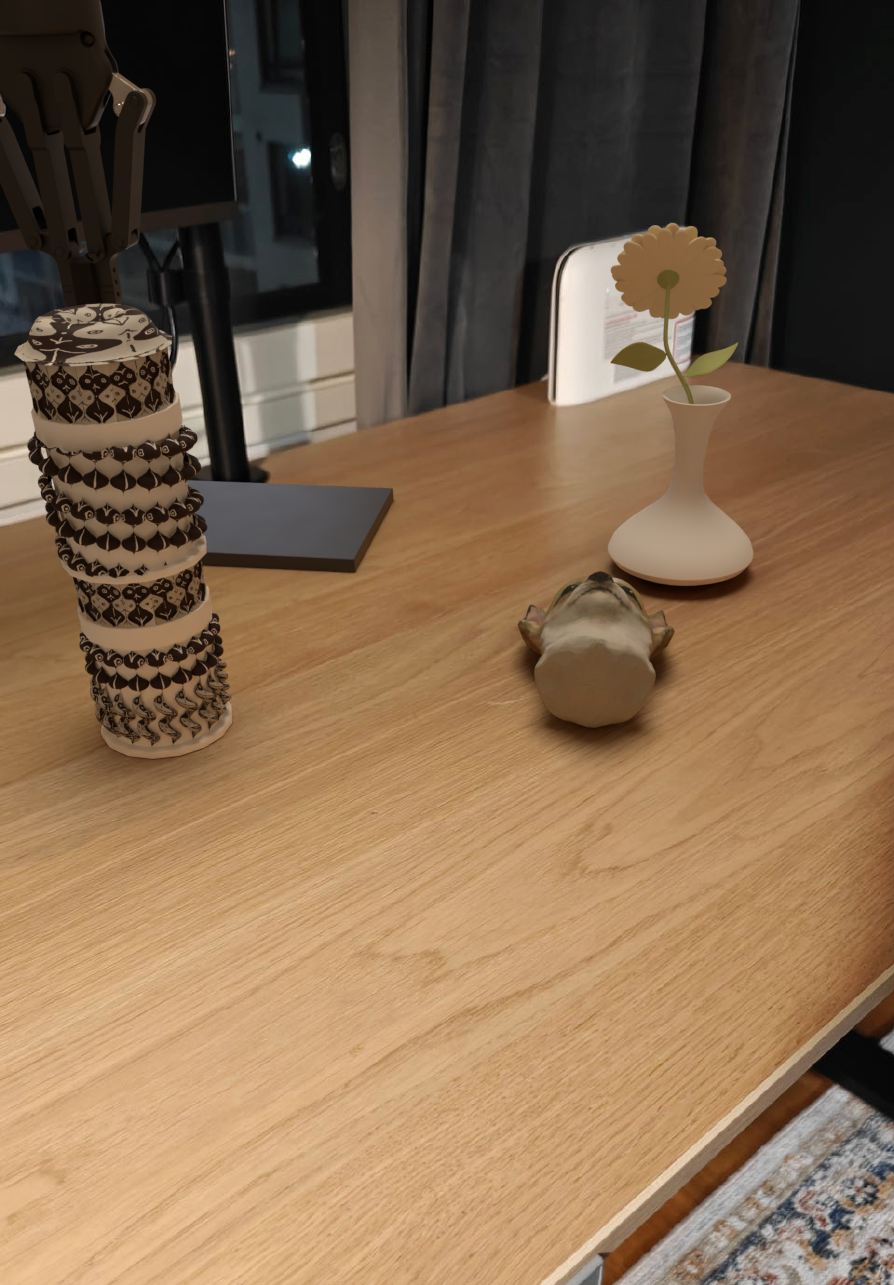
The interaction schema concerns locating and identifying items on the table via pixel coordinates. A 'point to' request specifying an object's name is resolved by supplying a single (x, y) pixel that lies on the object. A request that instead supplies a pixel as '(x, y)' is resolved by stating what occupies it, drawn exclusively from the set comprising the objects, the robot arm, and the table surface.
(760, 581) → the table surface
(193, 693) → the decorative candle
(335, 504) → the dark grey base plate
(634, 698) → the ceramic sculpture
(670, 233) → the flower in vase
